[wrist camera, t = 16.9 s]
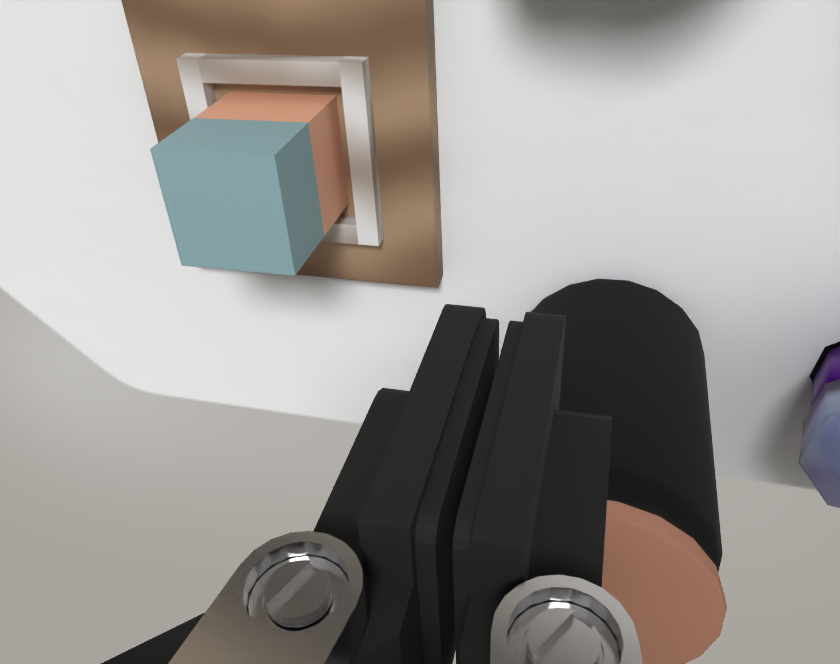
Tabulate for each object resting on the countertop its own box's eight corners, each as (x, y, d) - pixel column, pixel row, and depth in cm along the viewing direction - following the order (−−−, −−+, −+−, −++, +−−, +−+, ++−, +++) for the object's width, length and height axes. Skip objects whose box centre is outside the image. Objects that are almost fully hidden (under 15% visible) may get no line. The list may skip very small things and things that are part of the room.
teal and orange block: (229, 92, 40) (150, 148, 33) (336, 95, 38) (274, 155, 32) (250, 196, 43) (181, 265, 37) (349, 202, 42) (295, 275, 35)
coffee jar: (532, 414, 49) (483, 665, 35) (505, 275, 44) (435, 507, 30) (705, 412, 46) (728, 690, 32) (700, 260, 40) (725, 516, 26)
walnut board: (135, -15, 39) (107, -5, 37) (432, -16, 35) (419, -5, 33) (201, 253, 48) (182, 272, 46) (442, 274, 45) (433, 296, 43)
